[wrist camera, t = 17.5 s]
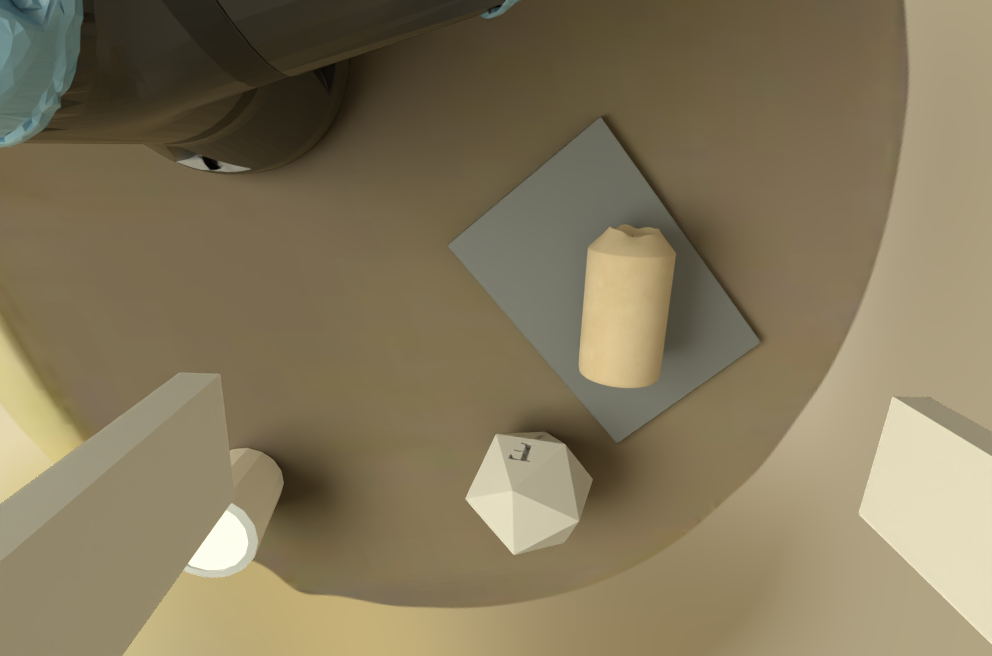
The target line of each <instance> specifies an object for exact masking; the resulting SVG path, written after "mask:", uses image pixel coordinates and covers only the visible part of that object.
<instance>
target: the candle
mask: <svg viewBox="0 0 992 656" xmlns="http://www.w3.org/2000/svg"><path fill="white" fill-rule="evenodd" d="M675 258H676V253H675V251H674V250H673V248H672V247H671V246H670V244H669V243H668V242H667V240H666V239H665V238H664V236H663V235H662V233H661V232H660V230H659V229H654V228H651V227H644V228H640V229H637V228H634V227H632V226H630V225H627V224H624V225H621V226H619V227H618V228H616V229H614V228H612V227H611V226H610V227H609V228H608V229H607V230H606V231H605V232H604V233H603V234H602V235H601V236H599V237H598V238H597V239H596V240H595V241H594V242H593V243H592V244H591V245H590V246H589V247H588V252H587V264H586V276H585V289H584V301H583V313H582V326H581V338H580V351H579V371H580V373H581V374H582V375H583V376H584V377H586V378H587V379H589V380H591V381H593V382H596V383H599V384H602V385H606V386H611V387H618V388H641V387H646V386H650V385H652V384H654V383H656V382H657V381H658V379H659V376H660V371H661V365H662V358H663V350H664V342H665V335H666V327H667V319H668V312H669V304H670V296H671V289H672V281H673V273H674V266H675Z"/></svg>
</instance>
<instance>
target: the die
mask: <svg viewBox="0 0 992 656" xmlns="http://www.w3.org/2000/svg"><path fill="white" fill-rule="evenodd" d="M592 481H593V479H592V477H591V476H590V475H589V474H588V472H587V471H586V470H585V469H584V467H583V466H582V465H581V464H580V462H579V461H578V460H577V458H576V457H575V456H574V455H573V453H572V452H571V451H570V450H569V448H568V447H567V446H566V445H565V444H564V443H562V442H561V441H559V440H558V439H556V438H555V437H553V436H551V435H550V434H548V433H547V432H530V433H528V432H525V433H504V434H496V435H495V437H494V440H493V442H492V444H491V446H490V448H489V450H488V452H487V454H486V456H485V458H484V461H483V463H482V465H481V467H480V469H479V471H478V473H477V475H476V477H475V479H474V482H473V484H472V486H471V488H470V490H469V492H468V494H467V496H466V498H465V499H466V500H467V501H468V503H469V504H470V505H471V506H472V507H473V508H474V509H475V511H476V512H477V513H478V514H479V515H480V516H481V518H482V519H483V520H484V521H485V522H486V523H487V525H488V526H489V527H490V528H491V529H492V530H493V531H494V533H495V534H496V535H497V536H498V537H499V538H500V540H501V541H502V542H503V543H504V544H505V545H506V546H507V548H508V549H509V550H510V551H511V552H512V553H513V555H516V554H520V553H524V552H528V551H532V550H536V549H541V548H545V547H549V546H553V545H557V544H561V543H564V542H565V541H566V539H567V538H568V537H569V535H570V534H571V532H572V531H573V529H574V528H575V526H576V525H577V524H578V522H579V520H580V517H581V514H582V511H583V508H584V505H585V502H586V499H587V496H588V493H589V490H590V487H591V484H592Z"/></svg>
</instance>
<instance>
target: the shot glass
mask: <svg viewBox="0 0 992 656" xmlns="http://www.w3.org/2000/svg"><path fill="white" fill-rule="evenodd" d="M229 452H230V461H231V469H232V478H233V486H234V494H235V498H234V500H233V501H232V503H231V504H230V505H229V507H228V508H227V510H226V511H225V512H224V514H223V515H222V517H221V518H220V519H219V521H218V522H217V524H216V525H215V526H214V528H213V529H212V531H211V532H210V533H209V535H208V536H207V538H206V539H205V540H204V542H203V543H202V545H201V546H200V547H199V549H198V550H197V552H196V553H195V554H194V556H193V557H192V559H191V560H190V561H189V563H188V564H187V566H186V567H185V568H184V571H186V572H188V573H191V574H195V575H199V576H203V577H207V578H209V577H227V576H229V575H231V574H234V573H236V572H239V571H241V570H243V569H244V568H245V567H246V566H247V565H248V564H249V563H250V562H251V561H252V559H253V558H254V557H255V555H256V552H257V550H258V547H259V545H260V543H261V540H262V538H263V535H264V533H265V531H266V528H267V526H268V524H269V521H270V519H271V516H272V514H273V512H274V509H275V507H276V504H277V502H278V500H279V497H280V495H281V492H282V488H283V485H284V481H283V476H282V471H281V470H280V468H279V467H278V465H277V464H276V462H275V461H274V460H273V459H272V458H270V457H269V456H267V455H266V454H264V453H263V452H260V451H257V450H254V449H250V448H239V449H233V450H230V451H229Z"/></svg>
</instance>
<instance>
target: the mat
mask: <svg viewBox="0 0 992 656" xmlns="http://www.w3.org/2000/svg"><path fill="white" fill-rule="evenodd" d="M624 224H627V225H630V226H632V227H634V228H637V229H640V228H644V227H651V228H654V229H659V230H660V232H661V233H662V235H663V236H664V238H665V239H666V240H667V242H668V243H669V244H670V246H671V247H672V248H673V250H674V251H675V253H676V258H675V266H674V273H673V281H672V289H671V296H670V304H669V312H668V319H667V327H666V335H665V342H664V350H663V358H662V365H661V371H660V376H659V379H658V381H657V382H656V383H654V384H652V385H650V386H646V387H641V388H618V387H611V386H606V385H602V384H599V383H596V382H593V381H591V380H589V379H587V378H586V377H584V376H583V375H582V374H581V373H580V371H579V351H580V338H581V326H582V313H583V301H584V289H585V276H586V264H587V252H588V247H589V246H590V245H591V244H592V243H593V242H594V241H595V240H596V239H597V238H598V237H599V236H601V235H602V234H603V233H604V232H605V231H606V230H607V229H608V228H609V227H610V226H611V227H612V228H614V229H616V228H618V227H619V226H621V225H624ZM448 247H449V248H450V249H451V250H452V251H453V253H454V254H455V255H456V256H457V257H458V258H459V260H460V261H461V262H462V263H463V264H464V265H465V267H466V268H467V269H468V270H469V271H470V272H471V274H472V275H473V276H474V277H475V278H476V279H477V281H478V282H479V283H480V284H481V285H482V286H483V288H484V289H485V290H486V291H487V292H488V293H489V295H490V296H491V297H492V298H493V299H494V300H495V302H496V303H497V304H498V305H499V306H500V308H501V309H502V310H503V311H504V312H505V313H506V315H507V316H508V317H509V318H510V319H511V320H512V322H513V323H514V324H515V325H516V326H517V327H518V329H519V330H520V331H521V332H522V333H523V334H524V336H525V337H526V338H527V339H528V340H529V341H530V343H531V344H532V345H533V346H534V347H535V348H536V350H537V351H538V352H539V353H540V354H541V355H542V357H543V358H544V359H545V360H546V361H547V362H548V364H549V365H550V366H551V367H552V368H553V369H554V371H555V372H556V373H557V374H558V375H559V377H560V378H561V379H562V380H563V381H564V382H565V384H566V385H567V386H568V387H569V388H570V389H571V391H572V392H573V393H574V394H575V395H576V396H577V398H578V399H579V400H580V401H581V402H582V403H583V405H584V406H585V407H586V408H587V409H588V410H589V412H590V413H591V414H592V415H593V416H594V417H595V419H596V420H597V421H598V422H599V423H600V424H601V426H602V427H603V428H604V429H605V430H606V431H607V433H608V434H609V435H610V436H611V437H612V438H613V440H614V441H615V442H616V443H619V442H620V441H621V440H623V439H624V438H626V437H627V436H629V435H630V434H631V433H633V432H634V431H636V430H637V429H639V428H640V427H641V426H643V425H644V424H646V423H647V422H648V421H650V420H651V419H653V418H654V417H656V416H657V415H658V414H660V413H661V412H663V411H664V410H666V409H667V408H668V407H670V406H671V405H673V404H674V403H676V402H677V401H678V400H680V399H681V398H683V397H684V396H685V395H687V394H688V393H690V392H691V391H693V390H694V389H695V388H697V387H698V386H700V385H701V384H703V383H704V382H705V381H707V380H708V379H710V378H711V377H713V376H714V375H715V374H717V373H718V372H720V371H721V370H722V369H724V368H725V367H727V366H728V365H730V364H731V363H732V362H734V361H735V360H737V359H738V358H740V357H741V356H742V355H744V354H745V353H747V352H748V351H749V350H751V349H752V348H754V347H755V346H757V345H758V344H759V343H761V342H760V340H759V339H758V338H757V336H756V335H755V333H754V332H753V331H752V329H751V328H750V326H749V325H748V324H747V322H746V321H745V319H744V318H743V316H742V315H741V314H740V312H739V311H738V309H737V308H736V307H735V305H734V304H733V302H732V301H731V300H730V298H729V297H728V295H727V294H726V293H725V291H724V290H723V288H722V287H721V286H720V284H719V283H718V281H717V280H716V279H715V277H714V276H713V274H712V273H711V271H710V270H709V269H708V267H707V266H706V264H705V263H704V262H703V260H702V259H701V257H700V256H699V255H698V253H697V252H696V250H695V249H694V248H693V246H692V245H691V243H690V242H689V241H688V239H687V238H686V236H685V235H684V233H683V232H682V231H681V229H680V228H679V226H678V225H677V224H676V222H675V221H674V219H673V218H672V217H671V215H670V214H669V212H668V211H667V210H666V208H665V207H664V205H663V204H662V203H661V201H660V200H659V198H658V197H657V196H656V194H655V193H654V191H653V190H652V188H651V187H650V186H649V184H648V183H647V181H646V180H645V179H644V177H643V176H642V174H641V173H640V172H639V170H638V169H637V167H636V166H635V165H634V163H633V162H632V160H631V159H630V158H629V156H628V155H627V153H626V152H625V150H624V149H623V148H622V146H621V145H620V143H619V142H618V141H617V139H616V138H615V136H614V135H613V134H612V132H611V131H610V129H609V128H608V127H607V125H606V124H605V122H604V121H603V120H602V118H601V117H599V118H598V119H596V120H595V121H594V122H593V123H592V124H590V125H589V126H588V127H587V128H586V129H584V130H583V131H582V132H581V133H580V134H579V135H577V136H576V137H575V138H574V139H573V140H571V141H570V142H569V143H568V144H567V145H565V146H564V147H563V148H562V149H561V150H560V151H558V152H557V153H556V154H555V155H554V156H552V157H551V158H550V159H549V160H548V161H546V162H545V163H544V164H543V165H542V166H540V167H539V168H538V169H537V170H536V171H535V172H533V173H532V174H531V175H530V176H529V177H527V178H526V179H525V180H524V181H523V182H521V183H520V184H519V185H518V186H517V187H516V188H514V189H513V190H512V191H511V192H510V193H508V194H507V195H506V196H505V197H504V198H502V199H501V200H500V201H499V202H498V203H497V204H495V205H494V206H493V207H492V208H491V209H489V210H488V211H487V212H486V213H485V214H483V215H482V216H481V217H480V218H479V219H477V220H476V221H475V222H474V223H473V224H472V225H470V226H469V227H468V228H467V229H466V230H464V231H463V232H462V233H461V234H460V235H458V236H457V237H456V238H455V239H454V240H453V241H451V242H450V243H449V244H448Z"/></svg>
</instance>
